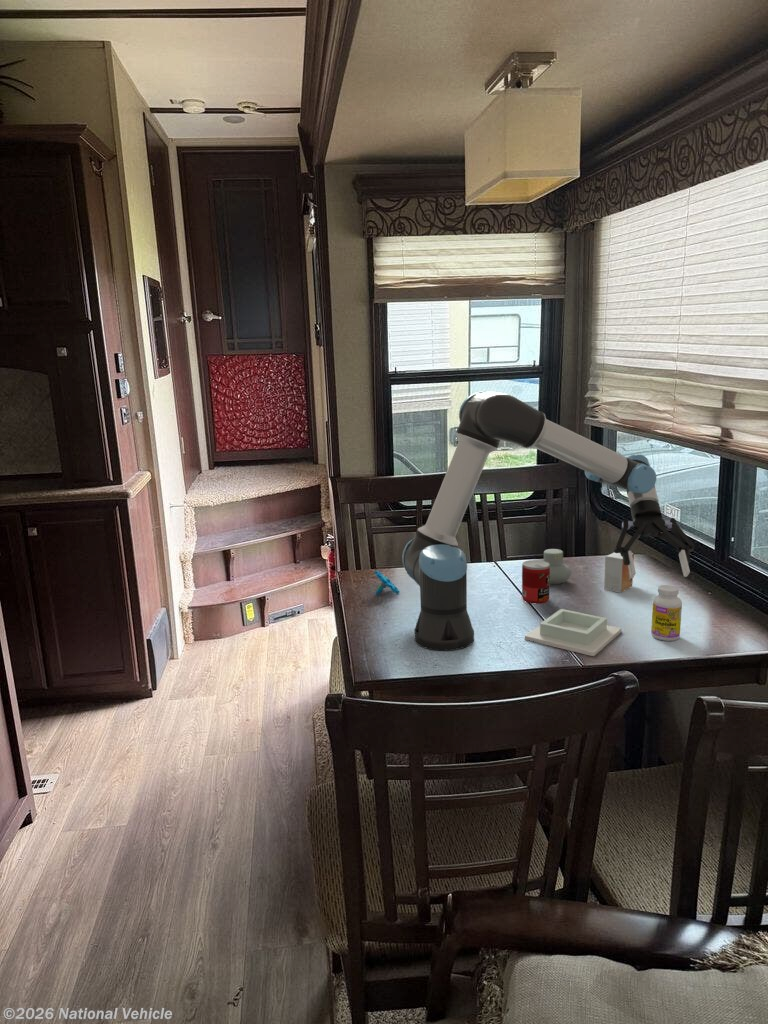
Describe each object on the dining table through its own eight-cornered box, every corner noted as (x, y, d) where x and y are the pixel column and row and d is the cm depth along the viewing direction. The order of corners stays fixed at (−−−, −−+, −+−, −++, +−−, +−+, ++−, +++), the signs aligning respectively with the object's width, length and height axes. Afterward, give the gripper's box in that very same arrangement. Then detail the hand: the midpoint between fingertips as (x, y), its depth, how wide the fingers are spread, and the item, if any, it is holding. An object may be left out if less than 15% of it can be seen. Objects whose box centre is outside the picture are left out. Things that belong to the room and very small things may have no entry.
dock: (593, 656, 162) (594, 640, 162) (524, 639, 173) (524, 624, 173) (621, 631, 176) (622, 617, 175) (555, 617, 187) (556, 603, 186)
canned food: (542, 606, 196) (543, 569, 194) (517, 601, 201) (517, 565, 199) (553, 598, 202) (554, 562, 200) (528, 593, 207) (529, 558, 204)
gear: (402, 593, 206) (377, 571, 205) (388, 608, 206) (364, 586, 205) (400, 586, 217) (377, 565, 216) (387, 600, 217) (364, 579, 216)
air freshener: (531, 579, 220) (531, 549, 218) (551, 575, 224) (551, 545, 221) (554, 588, 210) (555, 557, 208) (575, 583, 214) (575, 553, 212)
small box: (621, 593, 204) (622, 559, 202) (603, 589, 208) (604, 555, 206) (633, 586, 210) (634, 553, 208) (615, 582, 214) (616, 550, 211)
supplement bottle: (649, 639, 171) (651, 590, 168) (652, 630, 177) (655, 582, 174) (678, 643, 168) (681, 593, 165) (681, 633, 173) (684, 585, 171)
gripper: (687, 511, 191) (704, 580, 180) (595, 514, 193) (607, 582, 181) (695, 497, 185) (714, 567, 173) (600, 499, 186) (613, 569, 175)
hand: (660, 575), depth 177 cm, fingers open, 13 cm apart
